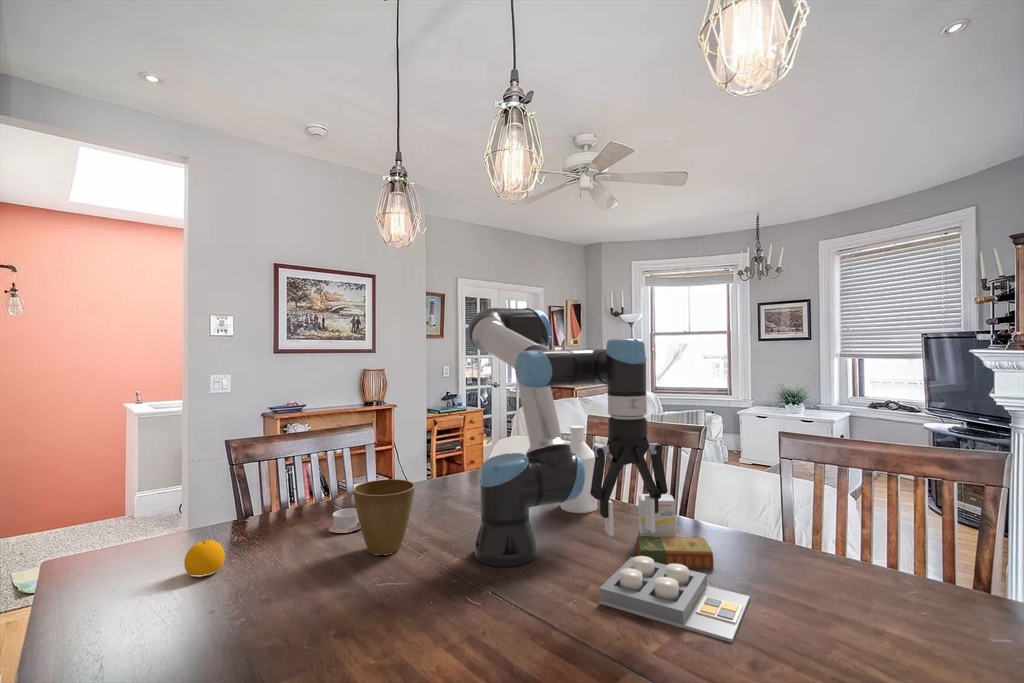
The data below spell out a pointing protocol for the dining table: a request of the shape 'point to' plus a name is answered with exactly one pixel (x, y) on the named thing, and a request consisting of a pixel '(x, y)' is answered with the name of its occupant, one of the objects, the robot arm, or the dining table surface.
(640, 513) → the ink box
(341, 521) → the teacup
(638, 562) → the button
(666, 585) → the button
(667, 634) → the dining table surface
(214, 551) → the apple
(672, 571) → the button
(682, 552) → the carton
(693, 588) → the keypad board
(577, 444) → the bottle
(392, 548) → the plant pot
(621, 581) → the button
